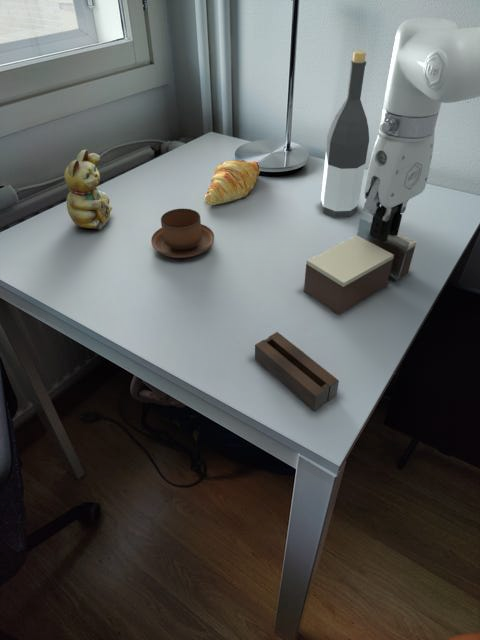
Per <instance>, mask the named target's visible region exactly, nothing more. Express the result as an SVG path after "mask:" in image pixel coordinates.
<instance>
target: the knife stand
mask: <svg viewBox="0 0 480 640" xmlns="http://www.w3.org/2000/svg"><path fill="white" fill-rule="evenodd" d="M254 360H255V361H256V362H258V364H260V366H262V367H263V368H264V369H265V370H266V371H267V372H269V373H270V374H271V375H272V376H273V377H274V378H276V379H277V380H278V381H279V382H280V383H281V384H282V385H284V387H286V388H287V389H288V390H289V391H290V392H291V393H293V394H294V395H295V396H296V397H297V398H298V399H299V400H300V401H301V402H303V403H304V404H305V405H306V406H307V407H308V408H309V409H311V411H313V412H315V411H316V410H318V409H319V408H321V407H322V406H323V405H324V404H325V403H326V402H329V401H331V400H332V399H333V398H335V397H336V396H337V393H338V388H339V382H340V380H339V379H338V378H336V377H335V376H334V375H333V374H332V373H330V372H329V371H328V370H326V369H325V368H324V367H323V366H321V364H319V363H318V362H316V361H315V360H314V359H312V358H311V357H310V356H309V355H307V354H306V353H305V352H304V351H303V350H301V349H300V348H298V347H297V346H296V345H295V344H294V343H292V342H291V341H289V339H287V338H286V337H284V336H283V335H282V334H281V333H279V332H278V331H275V332H274V333H272V334H271V335H269V336H268V337H267V338H265V339H262V340H260V341H258V342H257V343H255V344H254Z"/></svg>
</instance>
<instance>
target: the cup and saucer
mask: <svg viewBox="0 0 480 640" xmlns="http://www.w3.org/2000/svg"><path fill="white" fill-rule="evenodd" d="M160 223H161V227H160V228H159V229H157V230H156V231H155V232H154V233H153V235H152V236H151V239H150V240H151V241H150V242H151V245H152V248H153V249H154V250H155V251H156V252H157V253H159V254H161V255H163V256H166V257H169V258H174V259H175V258H176V259H184V258H185V259H186V258H192V257H195V256H198V255H200V254H202V253H204V252H206V251H207V250H208V249H209V248H211V246H212V245H213V243H214V241H215V234H214V232H213V230H212V229H211V228H210V227H208V226H206V225H205V224H203V223H202V221H201V214H200V213H199V212H198V211H196V210H194V209H190V208H175V209H170V210H169V211H166V212H164V214H162V215H161V217H160Z"/></svg>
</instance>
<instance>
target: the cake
mask: <svg viewBox="0 0 480 640" xmlns="http://www.w3.org/2000/svg"><path fill="white" fill-rule="evenodd" d="M393 257H394V255H393V254H392V253H390V252H388V251H386V250H384V249H382V248H380V247H378V246H376V245H374V244H372V243H371V242H369V241H367V240H365V239H363V238H361V237H359V236H357V234H356V235H354V236H352V237H350V238H347V239H346V240H344V241H342V242H339V243H338V244H336V245H334V246H332V247H330V248H328V249H326V250H324V251H322V252H320V253H318V254H316V255H314V256H312V257H310V258H307V259H306V264H305V274H304V284H303V293H306V294H307V295H308V296H310V297H311V298H313V299H315V300H316V301H318V302H319V303H321V305H323V306H324V307H326V308H328V309H329V310H331V311H332V312H333V313H335V314H337V315H338V316H340V315H342V314H343V313H344V312H347V311H348V310H349V309H351V308H353V307H354V306H356V305H357V304H359V303H362V301H364V300H366V299H368V298H369V297H371V296H373V295H374V294H376V293H377V292H380V291H382V290H383V289H385V288H386V287H387V286H388V281H389V274H390V270H391V266H392V262H393Z"/></svg>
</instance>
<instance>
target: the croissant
mask: <svg viewBox="0 0 480 640" xmlns="http://www.w3.org/2000/svg"><path fill="white" fill-rule="evenodd" d="M258 163H259V164H260V162H259V161H256V160H253V161H246V160H244V159H232V160H227V161H224V162H222V163H220V164H218V166H217V167H216V168H215V169H214V171H213V176H212V178H211V180H210V185H209V186H208V187H207V192H206V194H205V195H204V203H205V204H206V205H211V206H212V205H213V206H214V205H220V204H226V203H228V202H232V201H236V200H239V199H243V198H246V197H247V196H248V194H249V193H250V192H252V190H253V189H254V188H255V185H256V182H257V180H258V178H259V175H260V172H261V170H260V171H259V167H260V166H259V165H258Z"/></svg>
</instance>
